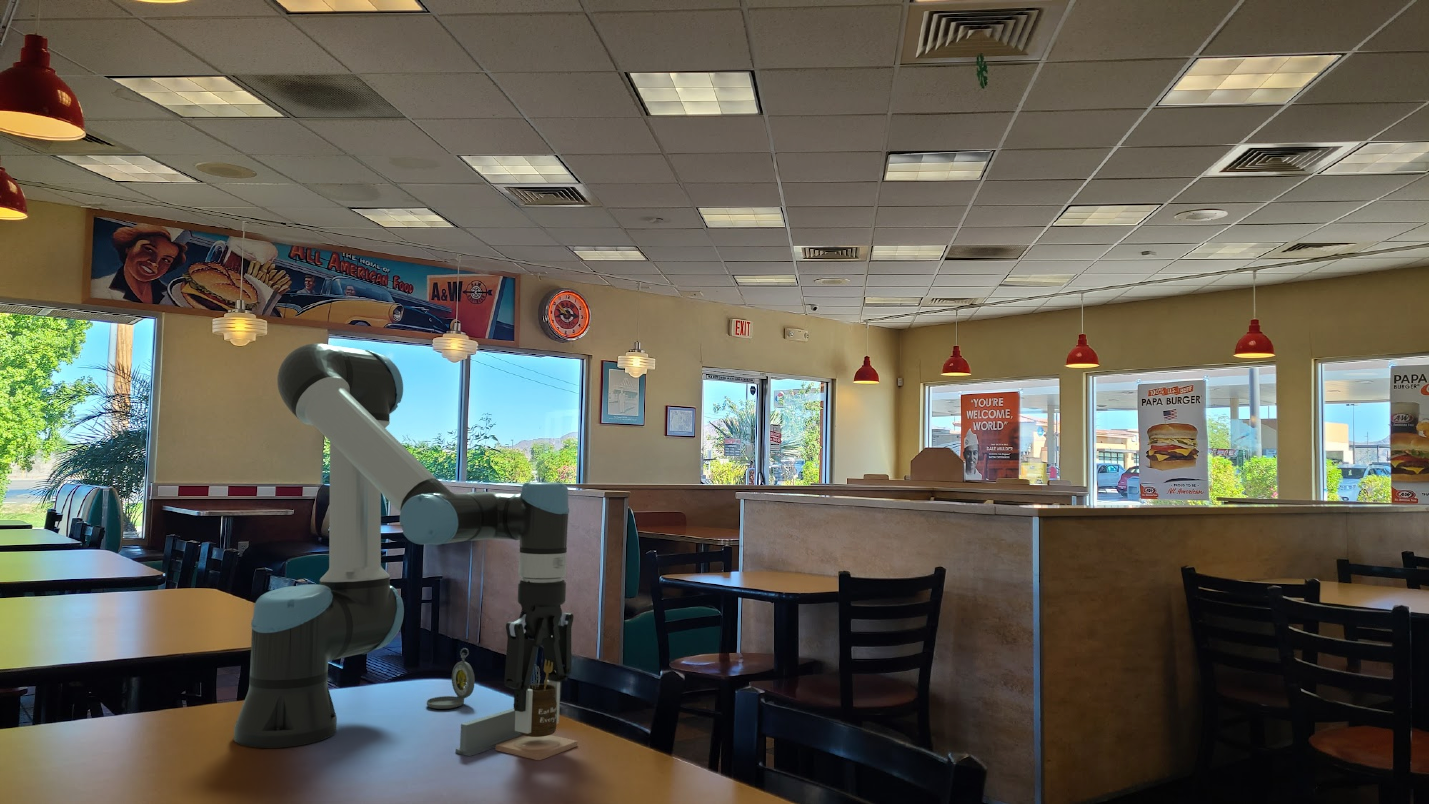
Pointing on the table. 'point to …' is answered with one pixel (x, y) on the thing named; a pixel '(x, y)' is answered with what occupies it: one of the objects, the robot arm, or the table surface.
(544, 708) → the utensil holder
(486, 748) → the low wall
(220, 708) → the table surface
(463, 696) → the pocket watch
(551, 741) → the coaster
